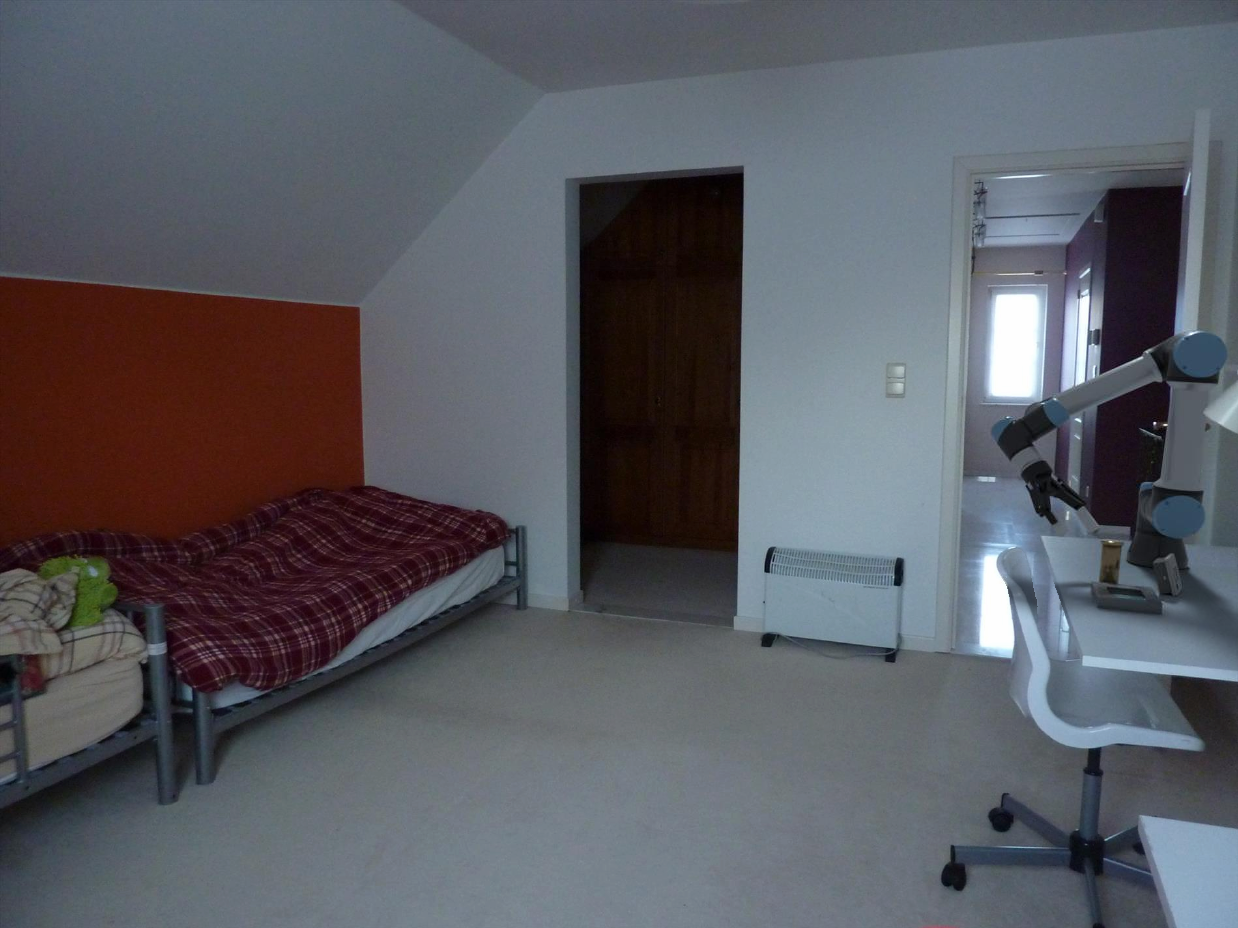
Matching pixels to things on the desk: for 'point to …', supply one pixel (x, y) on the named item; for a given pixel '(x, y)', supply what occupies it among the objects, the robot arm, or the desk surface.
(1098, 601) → the rack plate
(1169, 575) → the electrical switch
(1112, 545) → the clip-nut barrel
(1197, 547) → the desk surface
